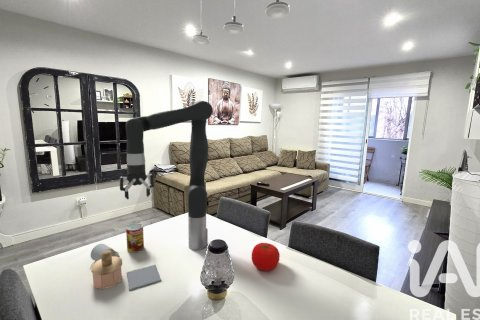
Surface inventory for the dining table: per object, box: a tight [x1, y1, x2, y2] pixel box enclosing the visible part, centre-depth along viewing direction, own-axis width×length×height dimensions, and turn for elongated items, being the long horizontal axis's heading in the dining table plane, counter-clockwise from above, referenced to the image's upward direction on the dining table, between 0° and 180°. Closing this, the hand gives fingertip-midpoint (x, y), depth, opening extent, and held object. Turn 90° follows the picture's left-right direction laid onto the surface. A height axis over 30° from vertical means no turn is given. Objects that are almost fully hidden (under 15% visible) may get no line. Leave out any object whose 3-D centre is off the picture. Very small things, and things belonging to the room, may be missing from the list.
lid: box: [90, 250, 123, 275], centre depth 96 cm, size 11×11×6 cm
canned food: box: [125, 222, 145, 254], centre depth 121 cm, size 8×8×12 cm
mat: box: [126, 264, 162, 291], centre depth 100 cm, size 12×12×1 cm
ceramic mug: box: [90, 243, 120, 262], centre depth 111 cm, size 11×8×8 cm
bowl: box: [92, 266, 123, 290], centre depth 97 cm, size 10×10×6 cm
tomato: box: [251, 242, 281, 272], centre depth 109 cm, size 14×13×10 cm
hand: (137, 197), depth 109 cm, fingers open, 8 cm apart
